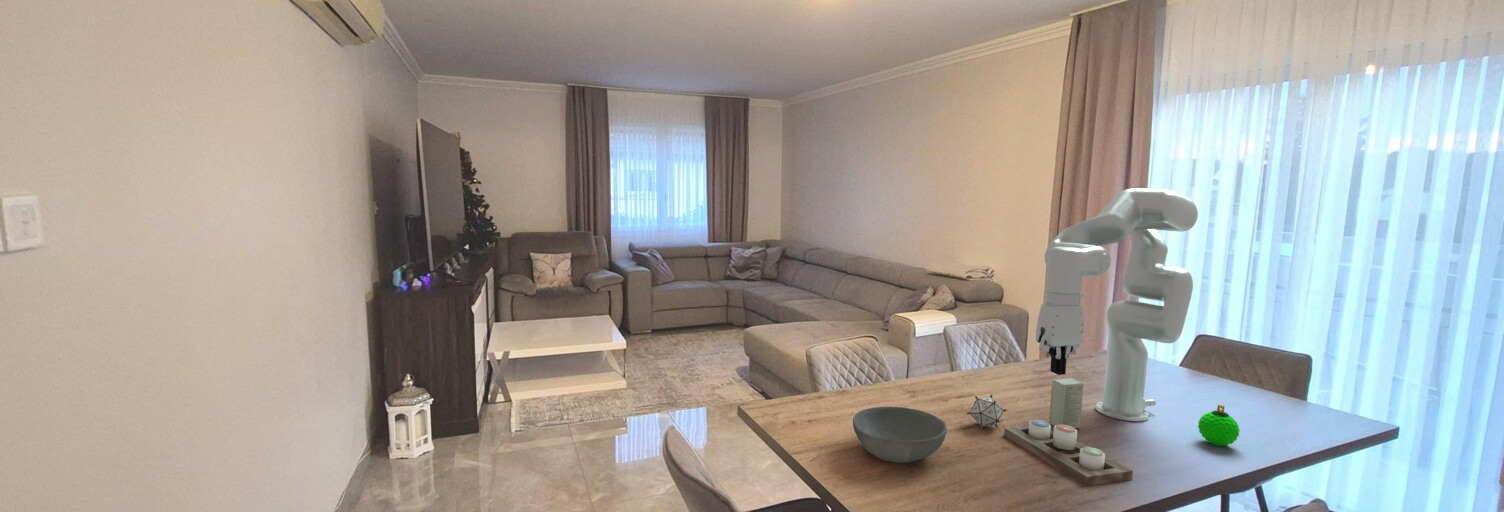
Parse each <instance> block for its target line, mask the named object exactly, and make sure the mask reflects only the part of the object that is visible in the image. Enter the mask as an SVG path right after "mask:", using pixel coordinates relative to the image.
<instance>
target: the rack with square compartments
mask: <svg viewBox="0 0 1504 512" xmlns="http://www.w3.org/2000/svg"><path fill="white" fill-rule="evenodd" d="M1028 431H1029V424H1028V425H1021V426H1019V425H1018V426H1010V427H1004V433H1003V436H1004V437H1006V438H1008V439H1009V440H1011V441H1012V442H1014V443H1016V444H1017V445H1020V447H1022V448H1024V449H1025V450H1027V451H1028V452H1031V453H1032V454H1033V455H1035V456H1037V457H1038V458H1040V459H1042V460H1044V461H1045V462H1047V463H1049V464H1050V465H1052V466H1053V467H1055V468H1057V469H1058V470H1060V471H1061V472H1063V473H1065V474H1066V475H1068V476H1070V477H1071V478H1073V479H1075V480H1076V481H1078V482H1079V483H1081V484H1083V485H1085V486H1086V487H1088V486H1095V485H1102V484H1109V483H1117V482H1124V481H1130V480H1131V481H1132V480H1133V473H1134V470H1133V469H1130V468H1129V467H1127V466H1125V465H1124V464H1121V463H1119V462H1117V461H1116V460H1114V459H1111V458H1110V457H1108V456H1106V455H1105V462H1104V470H1098V471H1090V470H1088V469H1086V468H1085V467H1083V466H1081V465H1080V464H1079V456H1080V449H1081V448H1084V447H1088V446H1087V445H1085V444H1083V443H1081V442H1079V441H1078V440H1076V449H1074V450H1066V451H1067V452H1069V453H1068V454H1062V453H1060V452H1059V451H1057V450H1061V449H1060V448H1058V447H1055V446H1054V445H1053V433H1054V427H1052V426H1051V430H1050V439H1045V440H1036V439H1034V438H1033V437H1031V436H1029V435H1028Z"/></svg>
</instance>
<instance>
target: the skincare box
mask: <svg viewBox="0 0 1504 512" xmlns="http://www.w3.org/2000/svg"><path fill="white" fill-rule="evenodd" d="M1083 393H1084V383H1083V382H1082V381H1079V380H1077V379H1075V378H1072V377H1068V378H1055V379H1052V383H1051V393H1050V394H1051V395H1050V405H1049V407H1050V408H1049V419H1048V423H1049V424H1050V425H1051V426H1053V427H1054V426H1055V425H1059V424H1063V425H1069V426H1072V427H1074V428H1075V429H1077V428H1080V427H1081V417H1082V416H1081V415H1082V408H1083V407H1082V406H1083V395H1084V394H1083Z"/></svg>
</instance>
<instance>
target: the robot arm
mask: <svg viewBox="0 0 1504 512" xmlns="http://www.w3.org/2000/svg"><path fill="white" fill-rule="evenodd" d="M1198 214H1199V212H1198V208H1197V205H1196V203H1195V202H1194V201H1193V200H1191V199H1190V198H1188V197H1186V196H1185V195H1183V194H1180V193H1178V192H1176V191H1174V190H1169V189H1165V188H1128V189H1124V190H1121V191H1120V192H1118V193H1117V194H1116V195H1114V197H1113V198H1112V199H1111V200H1110V201H1109V202H1108V204H1106V206H1105V207H1104V208H1103V209H1102V210H1101V211H1100V212H1099V213H1098V215H1097V216H1094V217H1091V218H1088V219H1085V220H1083V221H1081V222H1078V223H1075V224H1073V225H1071V226H1068V227H1066V228H1064V229H1063V230H1062V231H1060V232H1059V233H1058V234H1057V235H1056V237H1054V238H1053V239H1052V241H1051V242H1050V243H1049V244H1048V246H1047V248H1046V249H1045V253H1044V263H1045V265H1046V279H1045V282H1046V285H1045V296H1044V303H1042V304H1041V305H1040V308H1039V313H1038V316H1037V324H1036V329H1035V331H1036V332H1035V342H1037V343H1039V346H1038V349H1039V351H1042V352H1046V353H1048V356H1050V368H1049V369H1050V370H1049V371H1050V372H1051V373H1054V374H1056V375H1058V376H1063V375H1066V371H1067V370H1066V369H1067V359H1069V358H1070V354H1071V353H1072V352H1073V351H1074V350H1076V349H1079V348H1080V347H1081V346H1080V344H1081V343H1082V342H1083V337H1084V313H1083V306H1082V304H1081V299H1083V297H1084V295H1083V293H1082V286H1083V277H1098V276H1101V275H1103V274H1104V273H1106V272H1107V271H1108V270H1109V268H1110V266H1111V261H1112V258H1111V255H1110V253H1109V251H1108V250H1107V249H1106V248H1105V247H1103V246H1107V245H1108V246H1109V245H1112V244H1118V243H1120V242H1122V241H1124V240H1125V239H1127V237H1128V236H1129V238H1130V241H1131V242H1130V243H1131V244H1130V252H1129V254H1128V255H1129V256H1128V260H1127V264H1126V266H1125V270H1124V275H1123V278H1122V283H1121V284H1122V291H1123V292H1124V294H1126V295H1128V296H1131V297H1134V298H1139V299H1145V300H1152V301H1156V302H1157V301H1158V302H1163V305H1159V304H1152V303H1148V302H1141V301H1136V300H1135V301H1134V300H1123V299H1122V300H1117V301H1115V302H1112V303H1111V304H1110V305H1109V307H1108V309H1107V312H1106V324H1107V338H1108V339H1107V340H1108V341H1107V351H1106V353H1107V355H1106V364H1105V373H1104V375H1105V376H1104V384H1103V395H1102V401H1099V402H1097V403H1096V404H1095V409H1096V411H1097V412H1098V413H1100V414H1103V415H1104V416H1107V417H1110V418H1113V419H1117V420H1122V421H1127V422H1129V421H1130V422H1144V421H1146V420H1148V419H1149V412H1148V411H1147V410H1146V408H1147V407H1154V406H1156V404H1157V403H1156V400H1155V399H1153V398H1147V399H1146V398H1145V389H1146V378H1147V371H1148V369H1147V368H1148V361H1149V354H1148V353H1149V352H1148V349H1147V347H1146V345H1145V343H1144V341H1143V340H1148V341H1152V342H1156V343H1162V344H1173V343H1176V342H1177V341H1178V340H1179V339H1180V337H1181V335H1182V332H1183V329H1184V327H1185V322H1186V319H1187V315H1188V310H1189V308H1190V303H1191V299H1192V294H1193V290H1194V282H1193V281H1194V280H1193V276H1192V274H1191V273H1190V272H1189V271H1188V270H1186V269H1185V268H1182V267H1176V266H1170V265H1169V266H1168V265H1166V260H1167V257H1168V252H1169V251H1168V250H1169V249H1168V245H1167V243H1166V241H1165V240H1164V238H1163V237H1162V235H1161V234H1160V233H1159V232H1158V231H1166V232H1167V231H1169V232H1187V231H1190V230H1191V229H1192V228H1194V226H1195V225H1196V223H1197V221H1198V217H1199V215H1198Z"/></svg>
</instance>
